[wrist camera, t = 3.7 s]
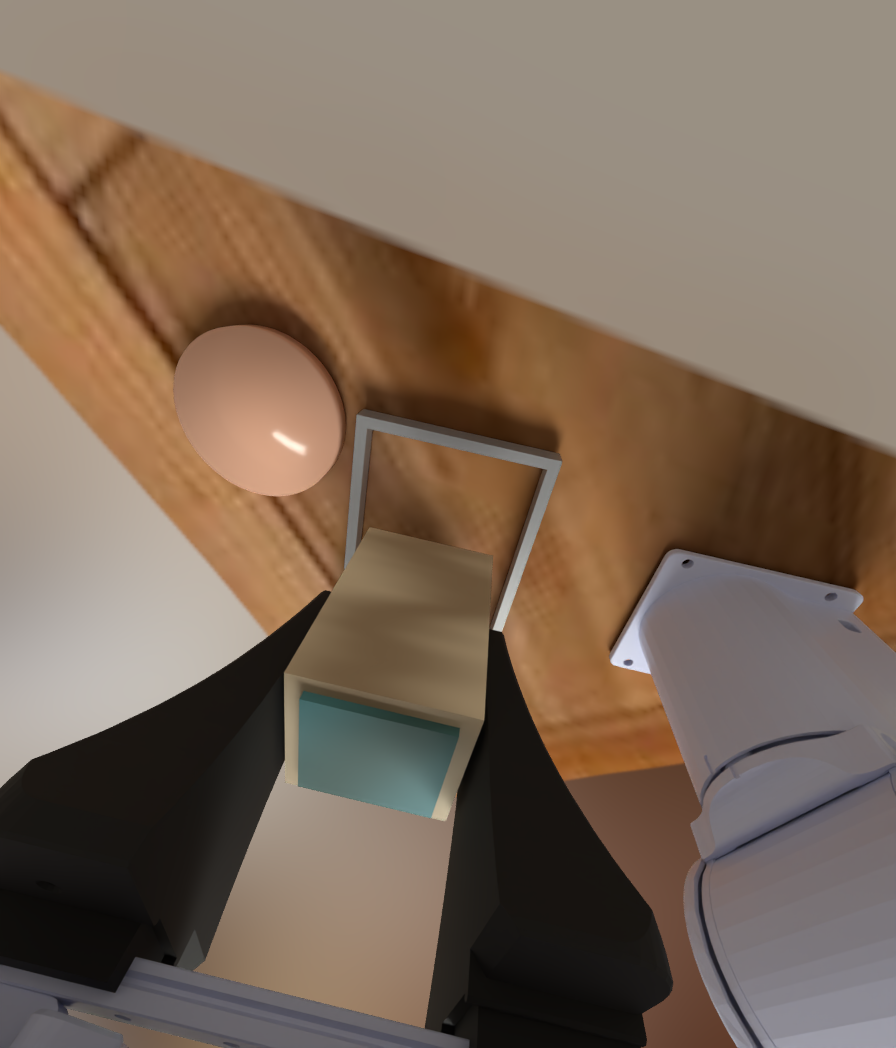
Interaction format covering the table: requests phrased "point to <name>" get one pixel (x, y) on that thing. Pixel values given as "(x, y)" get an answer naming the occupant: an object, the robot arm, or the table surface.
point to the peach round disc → (259, 409)
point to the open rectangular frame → (465, 442)
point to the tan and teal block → (392, 677)
